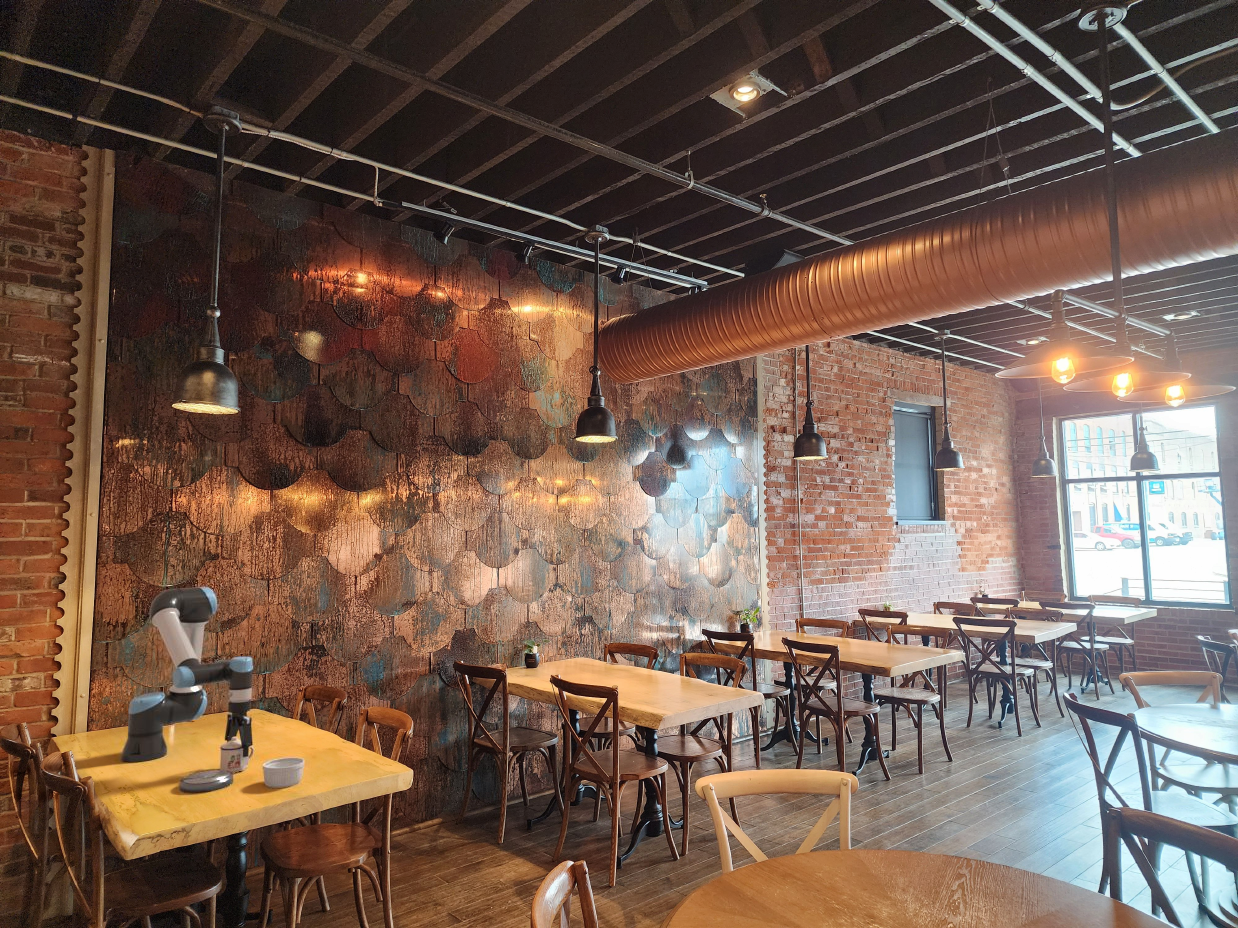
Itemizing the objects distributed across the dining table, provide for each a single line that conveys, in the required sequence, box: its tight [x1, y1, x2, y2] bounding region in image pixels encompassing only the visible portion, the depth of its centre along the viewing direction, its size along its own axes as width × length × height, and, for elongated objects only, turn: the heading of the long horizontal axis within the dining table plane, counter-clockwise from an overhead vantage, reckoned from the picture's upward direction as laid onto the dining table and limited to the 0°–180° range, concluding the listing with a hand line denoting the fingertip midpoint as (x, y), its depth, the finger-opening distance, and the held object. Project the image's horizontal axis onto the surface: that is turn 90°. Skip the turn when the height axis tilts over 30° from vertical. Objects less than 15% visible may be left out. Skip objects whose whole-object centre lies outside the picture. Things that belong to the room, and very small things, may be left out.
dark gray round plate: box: [179, 769, 234, 794], centre depth 257 cm, size 16×16×3 cm
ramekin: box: [262, 756, 306, 789], centre depth 259 cm, size 13×13×7 cm
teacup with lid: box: [219, 736, 255, 774], centre depth 275 cm, size 12×9×12 cm
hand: (237, 763), depth 275 cm, fingers closed on teacup with lid, 9 cm apart
